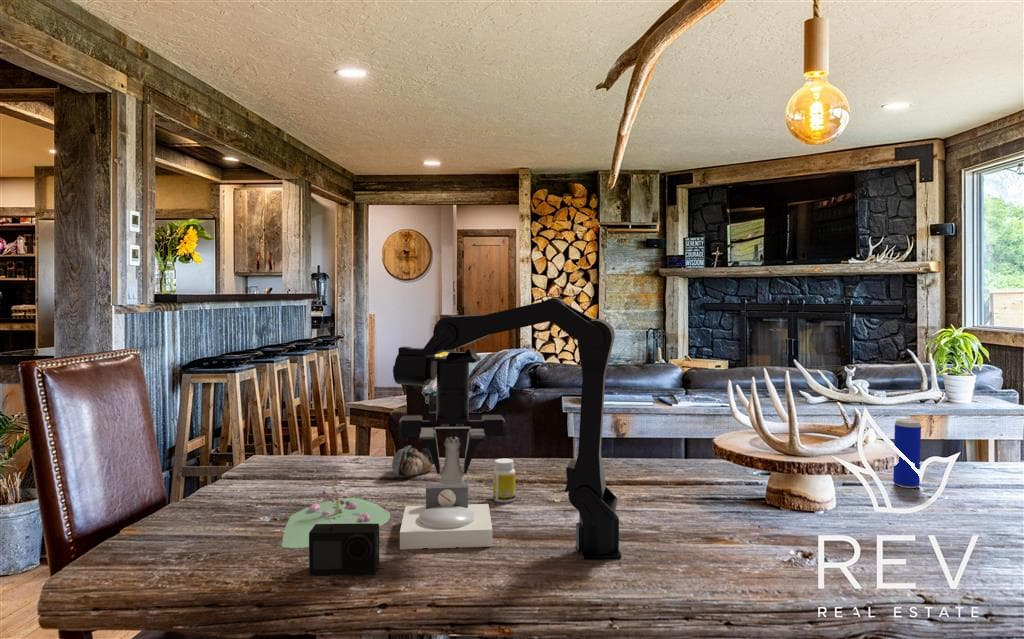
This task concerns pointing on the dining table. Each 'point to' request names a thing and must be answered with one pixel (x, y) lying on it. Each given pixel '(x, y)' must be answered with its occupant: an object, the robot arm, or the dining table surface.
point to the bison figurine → (411, 461)
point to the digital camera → (344, 549)
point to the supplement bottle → (504, 481)
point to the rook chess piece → (452, 463)
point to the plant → (331, 517)
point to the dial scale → (446, 521)
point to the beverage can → (907, 452)
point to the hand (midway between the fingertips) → (451, 473)
